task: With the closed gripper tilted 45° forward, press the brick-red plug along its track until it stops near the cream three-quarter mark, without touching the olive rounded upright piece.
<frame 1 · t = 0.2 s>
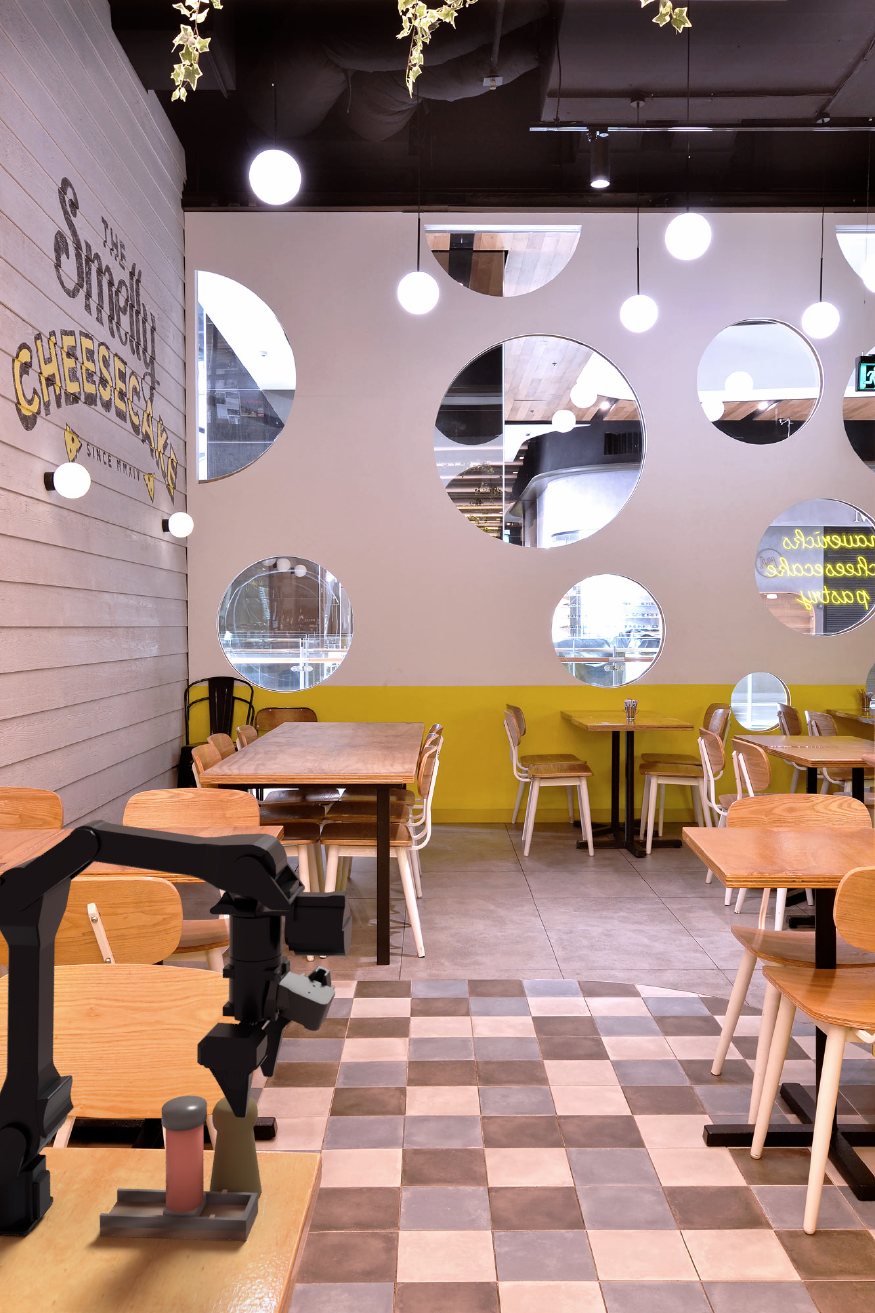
hand: (255, 1095, 101), 14 cm above the table, tool pointing down, fingers open, 9 cm apart
track: (180, 1223, 101), on the table
plug: (184, 1159, 101), point 7 cm above the table, slide at 0.0 cm
olive rounded upright piece: (235, 1196, 107), on the table
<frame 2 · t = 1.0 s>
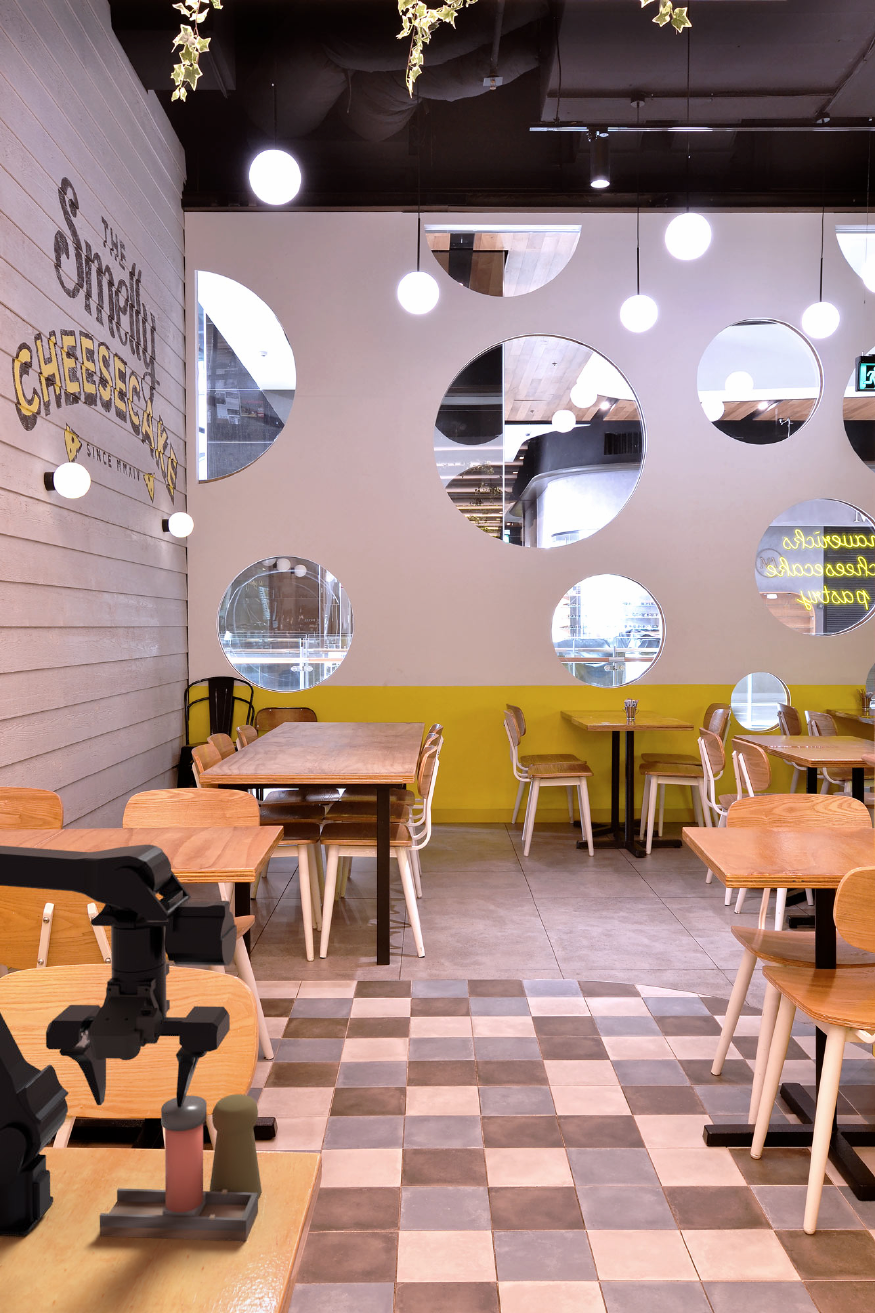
hand: (140, 1104, 102), 13 cm above the table, tool pointing down, fingers open, 9 cm apart
plug: (184, 1159, 101), point 7 cm above the table, slide at 0.0 cm, touching gripper
everything else where it was.
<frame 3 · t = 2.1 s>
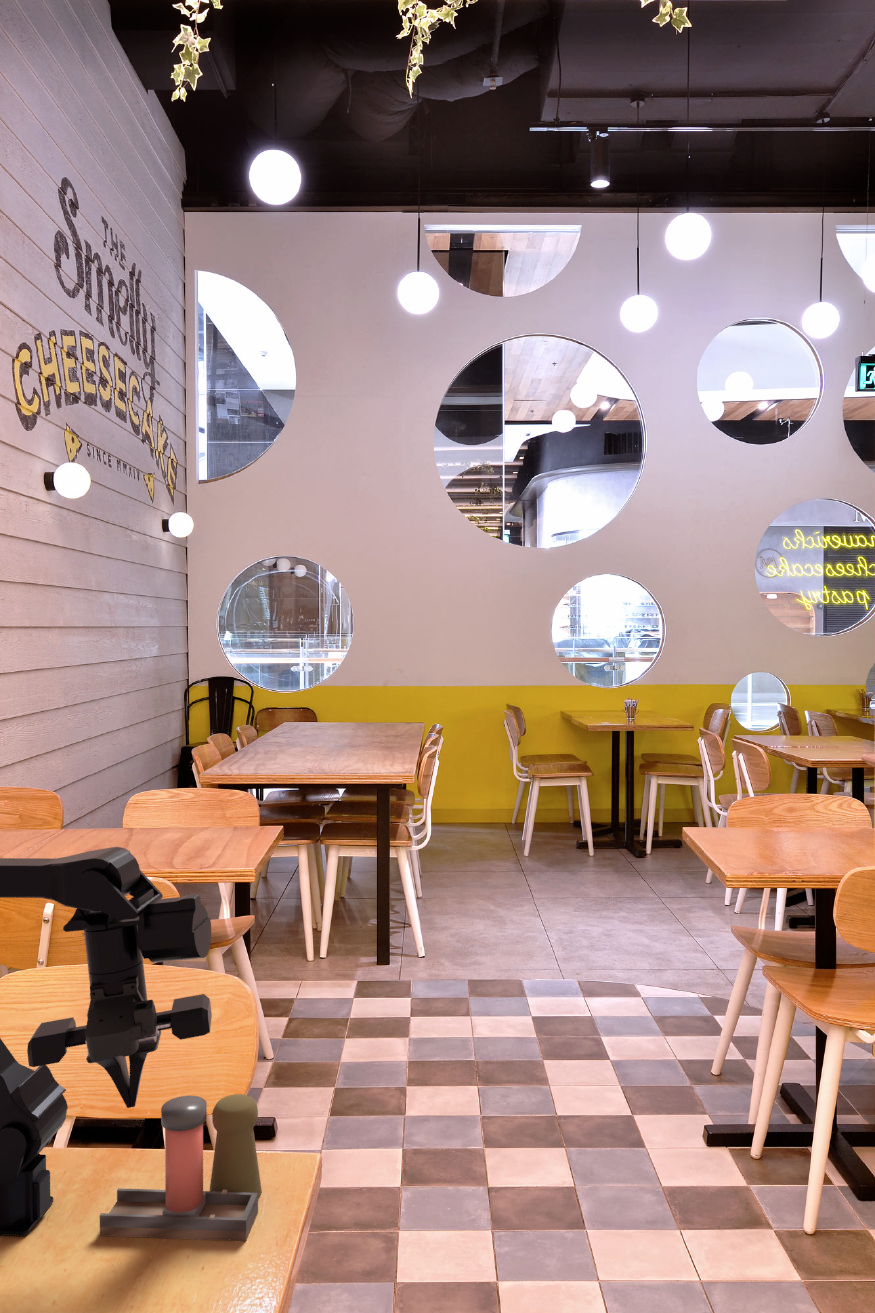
hand: (131, 1106, 102), 13 cm above the table, tool pointing down, fingers closed
plug: (184, 1159, 101), point 7 cm above the table, slide at 0.0 cm
everything else where it was.
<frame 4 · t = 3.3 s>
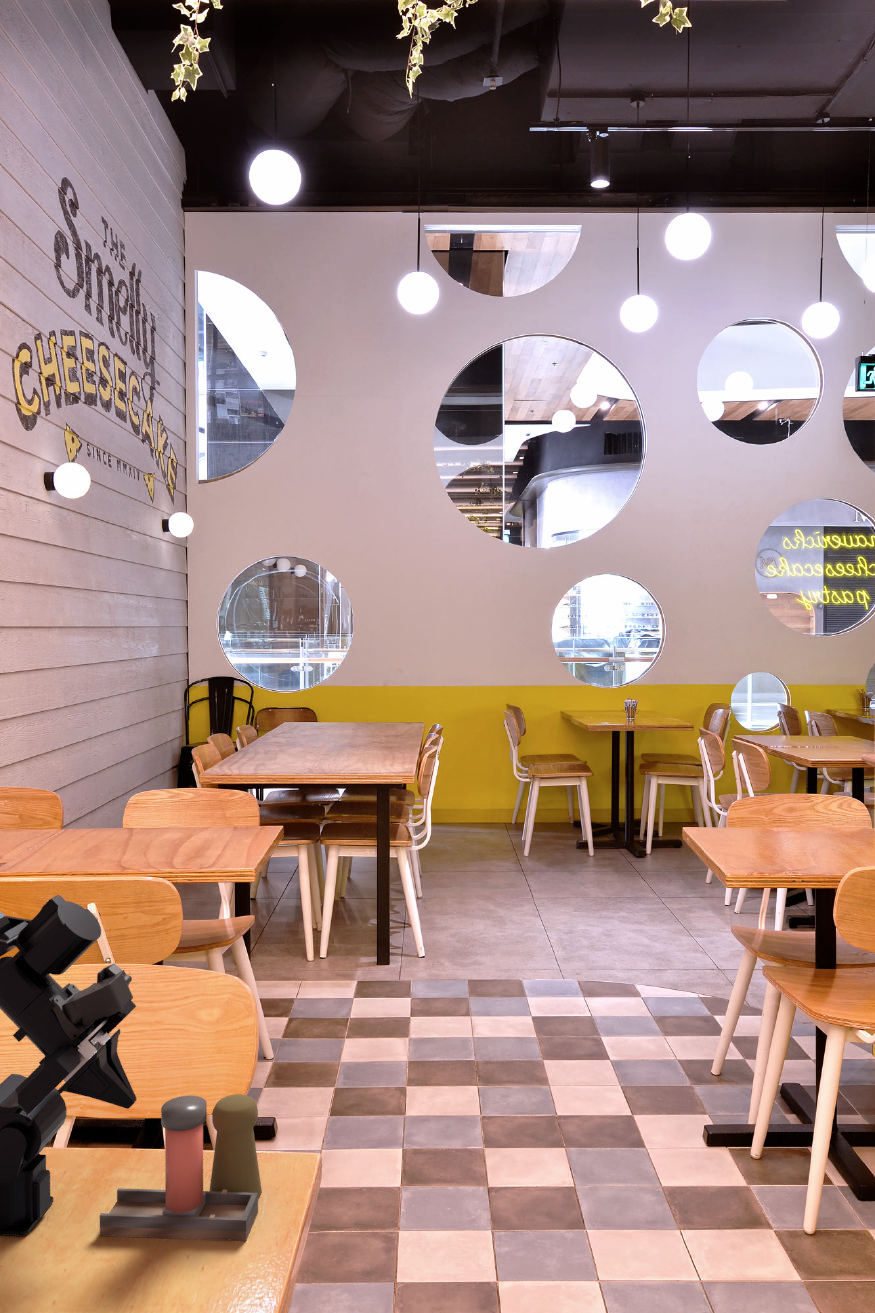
hand: (132, 1104, 102), 13 cm above the table, tool tilted 45°, fingers closed
nothing on the table moved.
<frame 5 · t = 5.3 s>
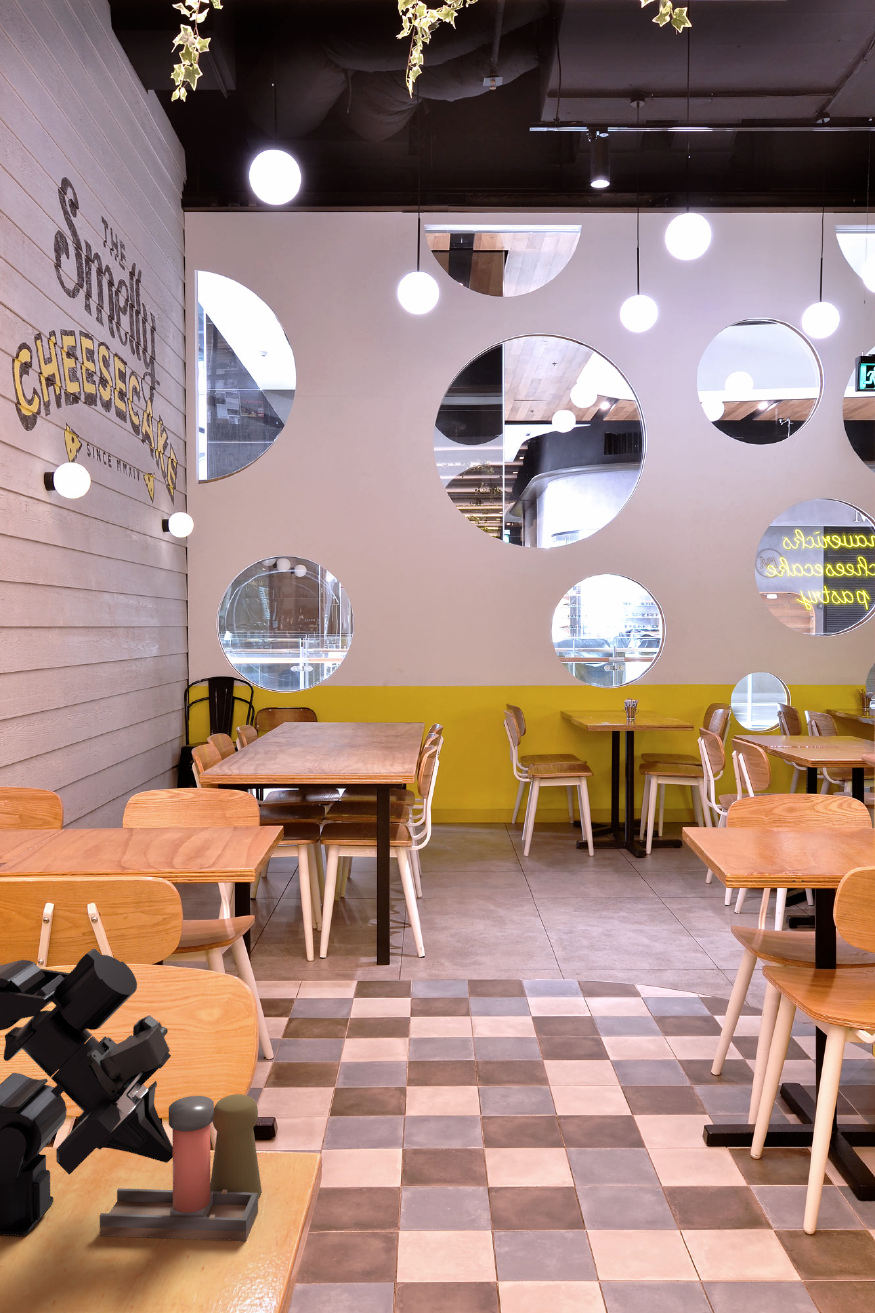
hand: (171, 1158, 101), 7 cm above the table, tool tilted 45°, fingers closed, pressing on plug
plug: (191, 1159, 101), point 7 cm above the table, slide at 0.8 cm, touching gripper
everything else where it was.
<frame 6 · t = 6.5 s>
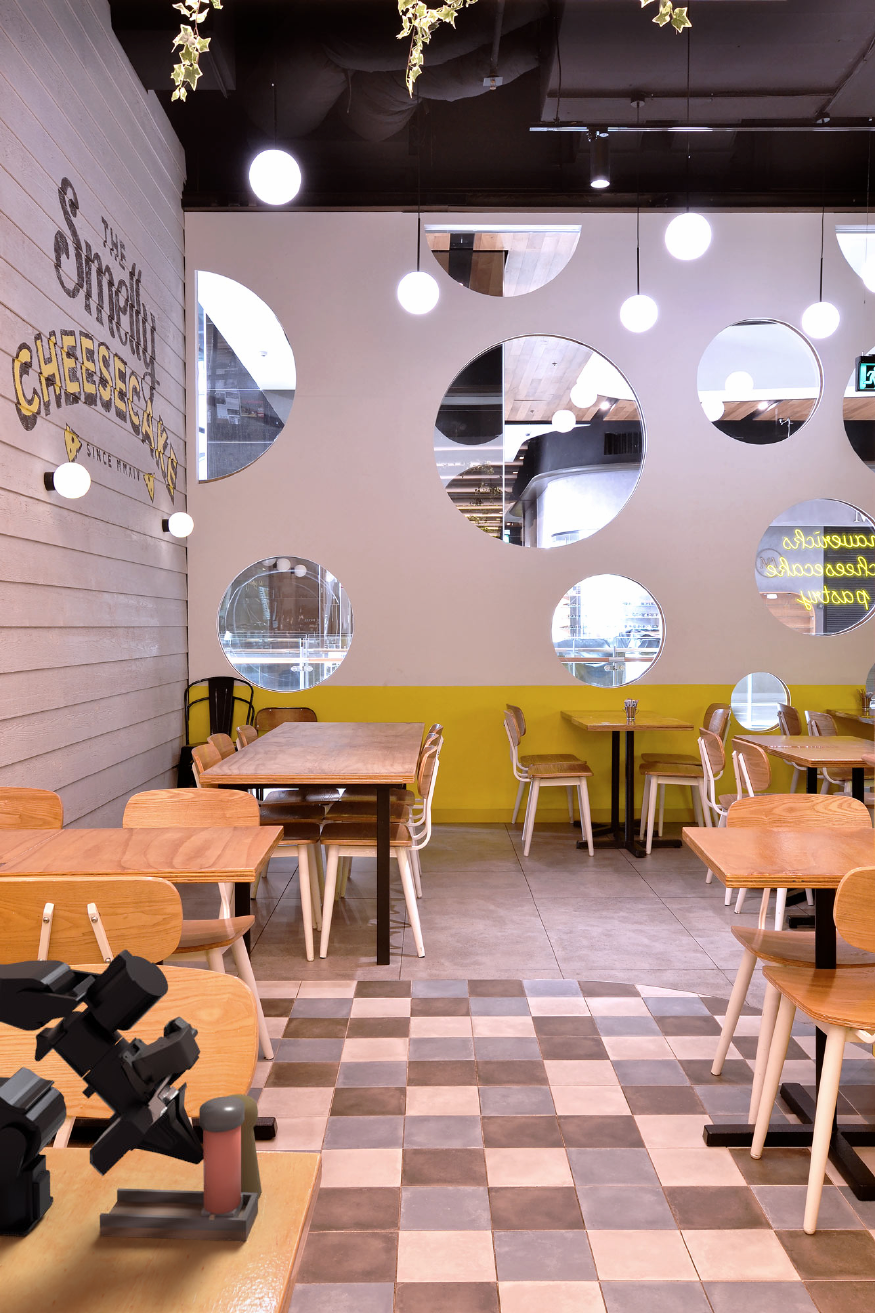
hand: (201, 1160, 101), 7 cm above the table, tool tilted 45°, fingers closed, pressing on plug
plug: (222, 1160, 101), point 7 cm above the table, slide at 4.2 cm, touching gripper
everything else where it was.
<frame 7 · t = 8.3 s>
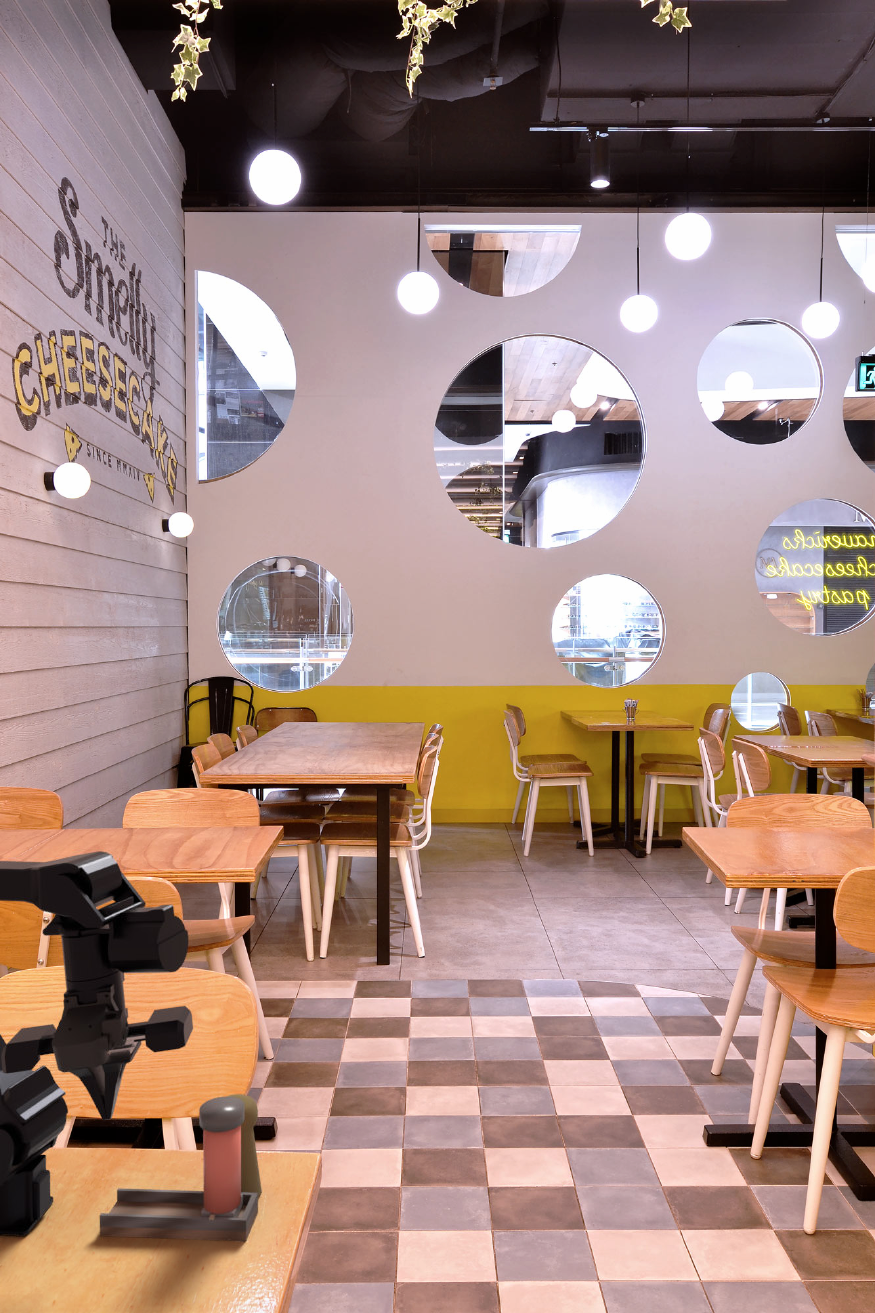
hand: (107, 1118, 99), 13 cm above the table, tool pointing down, fingers closed
plug: (222, 1160, 101), point 7 cm above the table, slide at 4.2 cm
everything else where it was.
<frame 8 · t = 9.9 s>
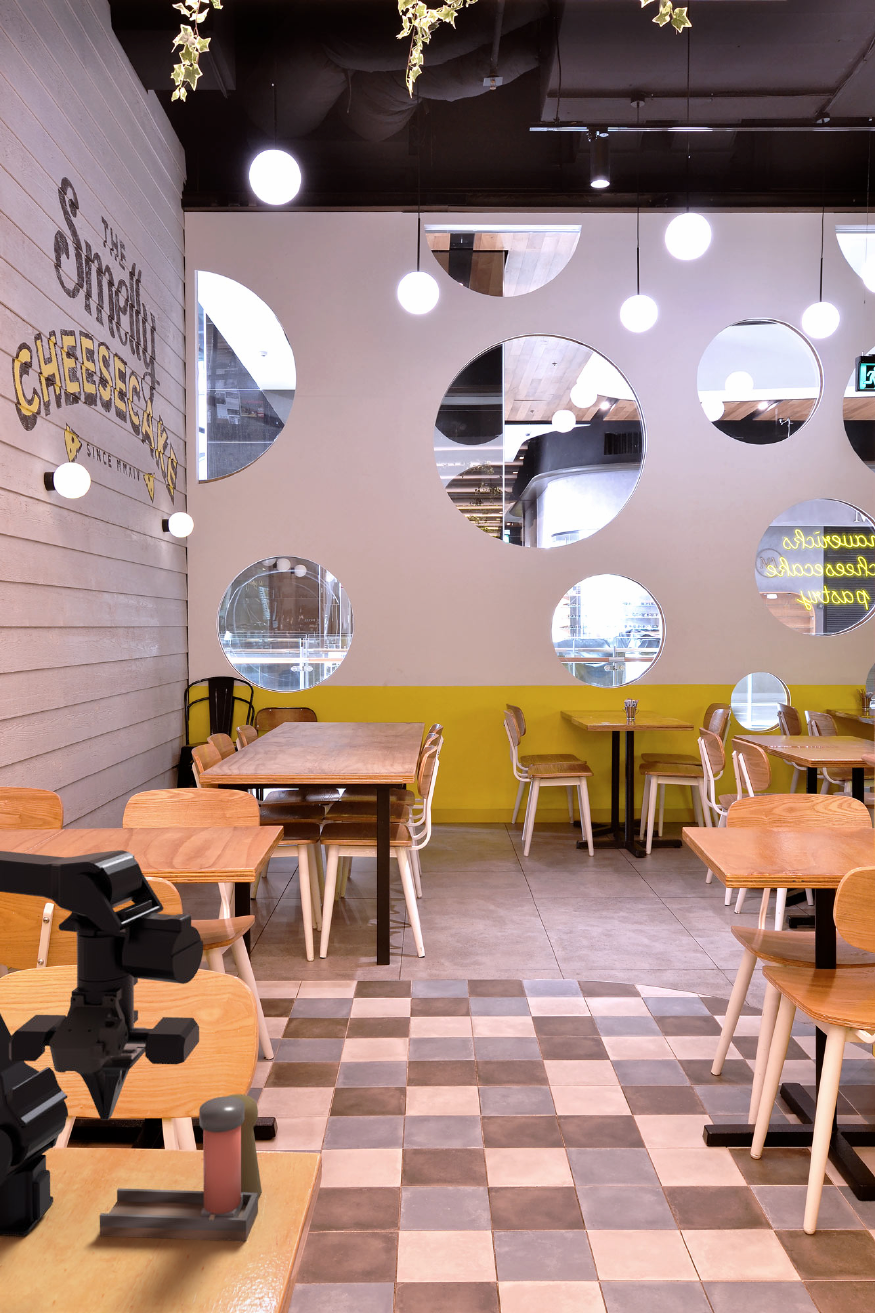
hand: (106, 1118, 99), 13 cm above the table, tool pointing down, fingers closed
nothing on the table moved.
at the end: plug slide at 4.2 cm; olive rounded upright piece moved 0.2 cm from its start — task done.
